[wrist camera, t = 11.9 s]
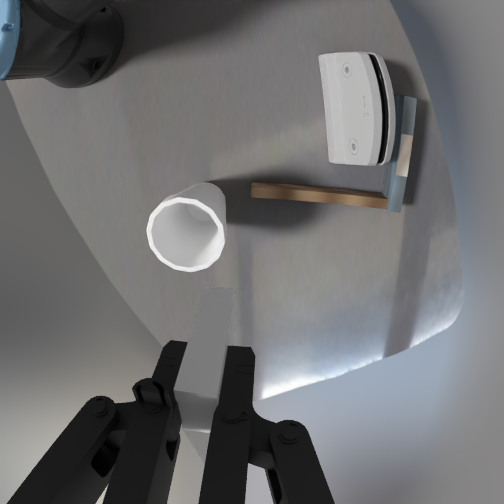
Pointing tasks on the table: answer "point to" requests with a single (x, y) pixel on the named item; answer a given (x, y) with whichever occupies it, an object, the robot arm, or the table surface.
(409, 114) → the wooden handled mallet
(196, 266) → the foam cup
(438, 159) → the table surface
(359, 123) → the white piece
